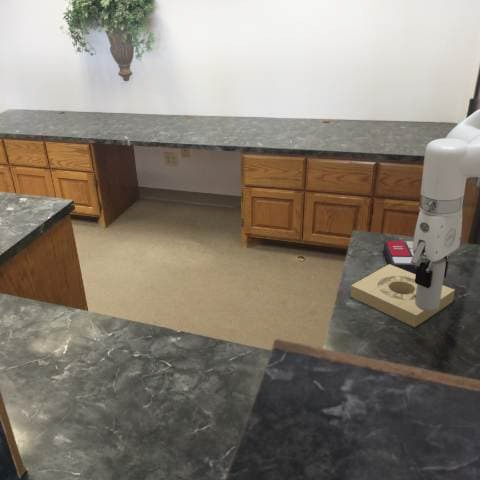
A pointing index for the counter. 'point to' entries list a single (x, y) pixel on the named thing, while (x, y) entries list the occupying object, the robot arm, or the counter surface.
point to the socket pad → (396, 294)
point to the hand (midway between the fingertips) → (430, 279)
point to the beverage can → (431, 288)
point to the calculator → (400, 254)
